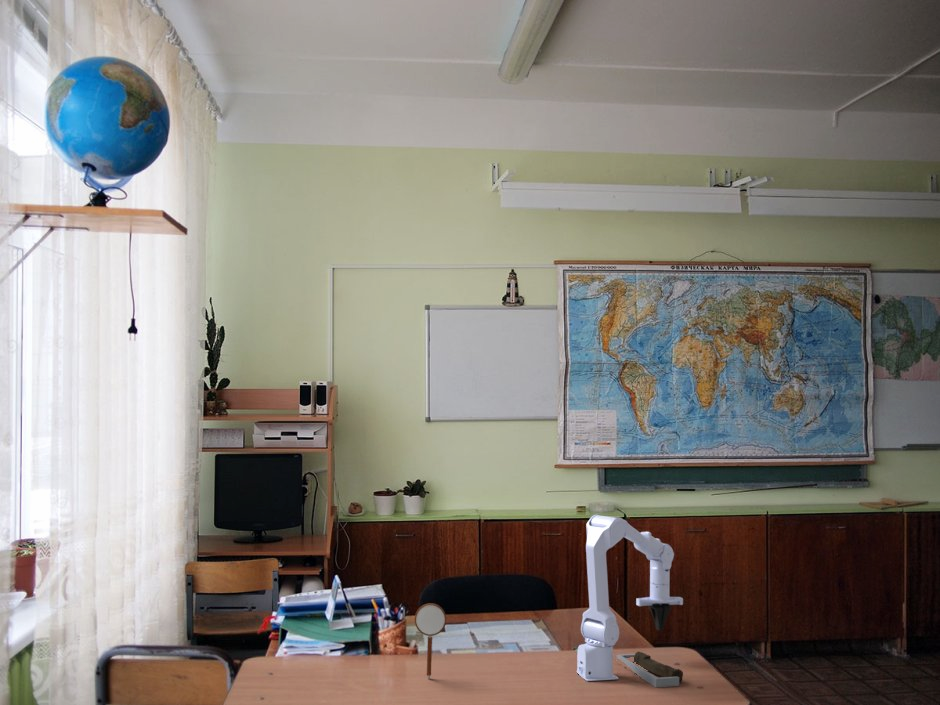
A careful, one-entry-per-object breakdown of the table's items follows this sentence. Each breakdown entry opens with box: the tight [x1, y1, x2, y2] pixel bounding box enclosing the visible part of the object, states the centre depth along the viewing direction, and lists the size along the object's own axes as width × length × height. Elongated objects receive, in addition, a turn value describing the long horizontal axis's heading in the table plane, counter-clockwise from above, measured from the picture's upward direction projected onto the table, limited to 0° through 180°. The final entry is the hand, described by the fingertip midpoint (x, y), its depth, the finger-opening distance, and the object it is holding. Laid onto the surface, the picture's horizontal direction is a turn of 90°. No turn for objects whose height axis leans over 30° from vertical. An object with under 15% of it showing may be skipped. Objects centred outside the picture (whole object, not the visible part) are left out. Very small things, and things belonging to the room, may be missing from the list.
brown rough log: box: [634, 651, 684, 684], centre depth 234 cm, size 19×4×5 cm, turn 25°
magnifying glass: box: [414, 602, 447, 680], centre depth 225 cm, size 9×2×20 cm, turn 89°
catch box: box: [616, 653, 680, 688], centre depth 234 cm, size 7×24×2 cm, turn 15°
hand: (659, 629), depth 247 cm, fingers closed
